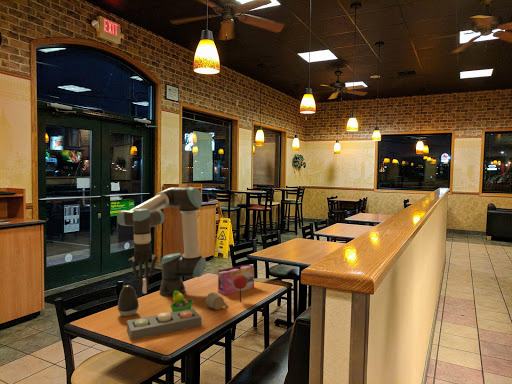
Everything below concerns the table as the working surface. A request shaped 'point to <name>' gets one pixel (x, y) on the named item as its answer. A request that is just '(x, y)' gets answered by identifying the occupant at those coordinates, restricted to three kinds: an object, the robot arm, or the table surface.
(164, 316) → the cream button
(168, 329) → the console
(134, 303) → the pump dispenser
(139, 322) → the sage button
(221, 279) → the gum box
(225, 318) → the table surface
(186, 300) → the fruit basket
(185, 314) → the terracotta button
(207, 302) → the ceramic mug
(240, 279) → the lollipop
